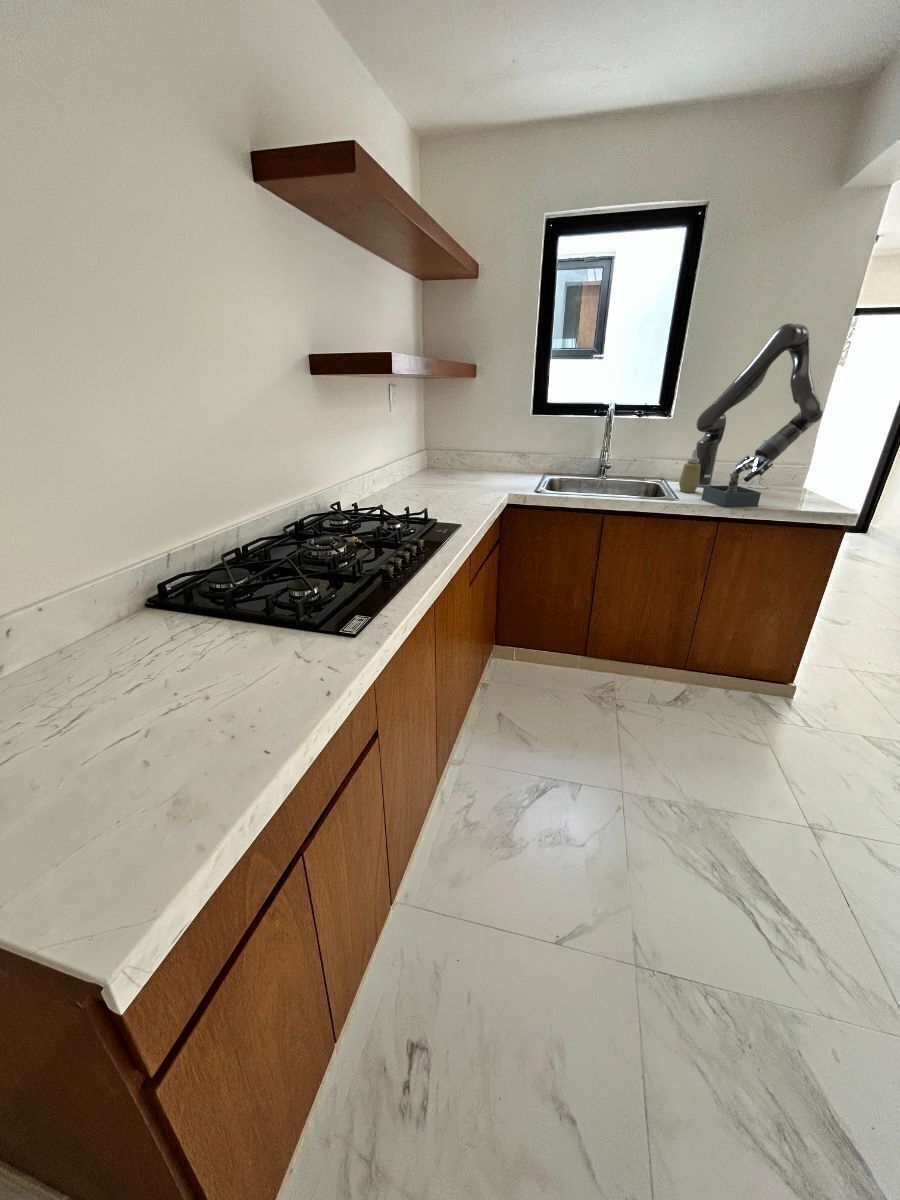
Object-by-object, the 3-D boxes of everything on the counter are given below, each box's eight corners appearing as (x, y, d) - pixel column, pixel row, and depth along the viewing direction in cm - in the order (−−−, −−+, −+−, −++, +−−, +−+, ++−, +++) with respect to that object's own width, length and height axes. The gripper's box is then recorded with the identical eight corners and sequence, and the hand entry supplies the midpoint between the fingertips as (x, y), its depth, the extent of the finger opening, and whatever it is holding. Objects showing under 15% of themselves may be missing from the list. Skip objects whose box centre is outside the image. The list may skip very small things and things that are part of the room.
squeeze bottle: (677, 492, 221) (685, 450, 214) (677, 489, 228) (684, 448, 221) (697, 493, 218) (706, 451, 211) (696, 490, 225) (705, 449, 218)
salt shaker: (733, 500, 203) (740, 470, 199) (740, 503, 198) (747, 472, 193) (718, 499, 204) (725, 469, 199) (724, 502, 198) (731, 472, 194)
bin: (701, 499, 207) (704, 485, 205) (733, 498, 209) (736, 485, 207) (723, 507, 193) (726, 492, 191) (757, 506, 195) (761, 492, 193)
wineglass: (767, 486, 235) (779, 440, 227) (767, 489, 229) (779, 441, 221) (749, 485, 239) (760, 439, 231) (748, 487, 233) (759, 440, 225)
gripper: (755, 439, 199) (722, 469, 203) (780, 443, 186) (745, 474, 190) (764, 453, 202) (731, 482, 205) (790, 457, 189) (754, 488, 192)
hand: (738, 478), depth 197 cm, fingers open, 8 cm apart
